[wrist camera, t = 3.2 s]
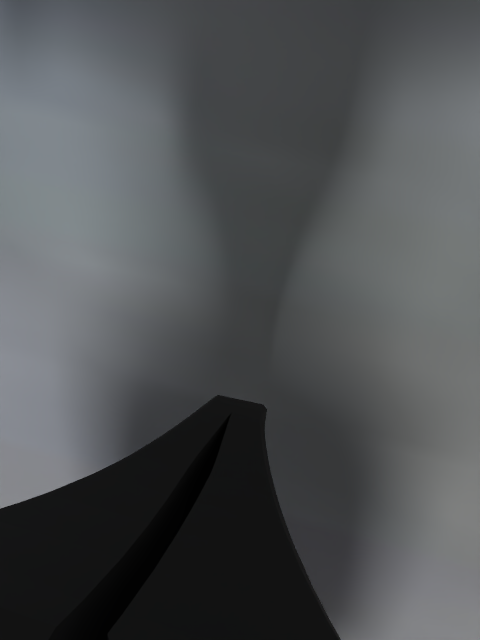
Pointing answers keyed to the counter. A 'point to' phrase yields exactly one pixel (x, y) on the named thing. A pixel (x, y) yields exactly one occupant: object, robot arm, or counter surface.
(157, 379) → the counter surface
